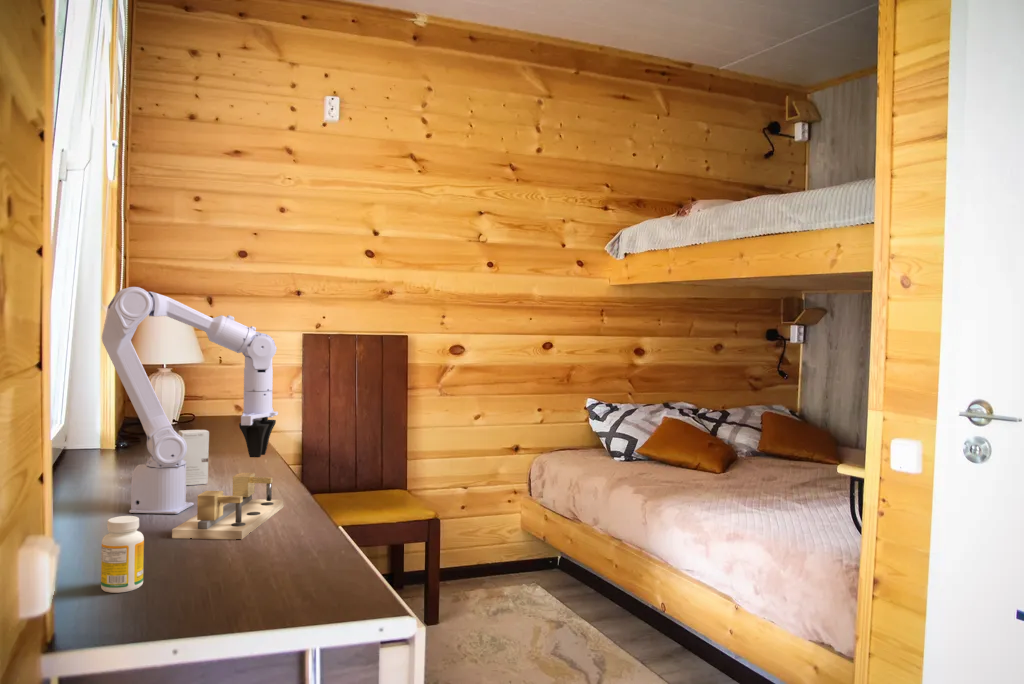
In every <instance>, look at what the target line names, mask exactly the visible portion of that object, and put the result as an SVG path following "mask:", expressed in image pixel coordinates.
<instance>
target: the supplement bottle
mask: <svg viewBox="0 0 1024 684" xmlns="http://www.w3.org/2000/svg"><path fill="white" fill-rule="evenodd" d="M106 522H107V525H106V526H107V528H106V529H107V532H109V533H106V534H105V535H104V536H103V537H102V539H101V553H100V554H101V557H100V560H101V561H100V562H101V563H100V565H101V566H100V567H101V568H100V573H101V574H100V587H101V590H103V591H104V592H106V593H113V594H114V593H115V594H118V593H119V594H121V593H126V592H132V591H134V590H137V589H139V588H140V587H142V586H143V583H144V558H145V557H144V554H145V552H144V551H145V550H144V549H145V537H144V534H143V533H142V532H141V531H140V530H138V529H139V528H140V518H139V516H135V515H134V516H133V515H120V516H115V517H110V518H109V519H107V521H106Z"/></svg>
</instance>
